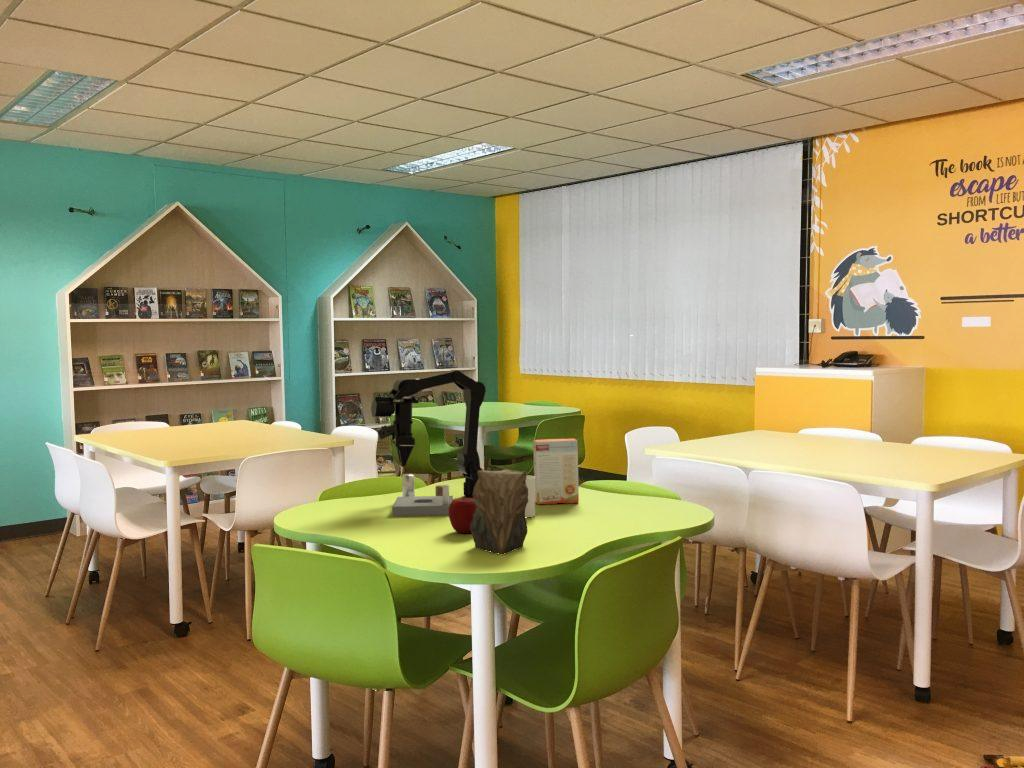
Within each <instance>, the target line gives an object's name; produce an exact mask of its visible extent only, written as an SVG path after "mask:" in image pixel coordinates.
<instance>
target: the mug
mask: <svg viewBox="0 0 1024 768" xmlns="http://www.w3.org/2000/svg"><path fill="white" fill-rule="evenodd" d="M525 482H526V486H527V488H528V503H527V505H526V509H525V517H531V518H534V517H535V515H536V513H535V512H536V502H535V476H534V475H527V474H526V481H525ZM533 516H534V517H533Z"/></svg>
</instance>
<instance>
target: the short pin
mask: <svg viewBox="0 0 1024 768" xmlns="http://www.w3.org/2000/svg"><path fill="white" fill-rule="evenodd" d="M443 485H444V484H440V485H439V484H438V485H436V486H435V488H434V489H435V491H434V492H435V496H443Z"/></svg>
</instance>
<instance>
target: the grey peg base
mask: <svg viewBox="0 0 1024 768" xmlns="http://www.w3.org/2000/svg"><path fill="white" fill-rule="evenodd" d="M442 485H443V496H436V495H430V496H429V495H427V496H425V495H424V496H421V495H420V496H416V495H415V497H403V496H397V497H396V499H395V501H394V503H393V504H392V509H391V510H392V511H391V512H392V514H391V515H392V517H425V516H424V515H427V516H429V517H431V516H430V515H436V516H449V505H450V503H451V502H452V501H453V500H454V498H453V497H454V495H450V485H449V484H442Z"/></svg>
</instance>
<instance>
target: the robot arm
mask: <svg viewBox="0 0 1024 768" xmlns="http://www.w3.org/2000/svg"><path fill="white" fill-rule="evenodd" d="M452 383H453V384H455V385H456V387H457V388H459V389H460V390H462V394H463V395H462V396H463V400H464V404H465V419H464V421H465V423H464V432H463V433H464V435H463V436H464V437H463V446H462V447H463V448H462V449H461V451H460V452H456V462H455V464H456V466H457V469H458V470H459V472H460V473H461V474H462V476H463V478H465V479H464V482H463V496H464V498H473V491H474V487H475V485H476V483H477V481H478V475H477V471H479V470H480V471H481V470H484V469H483V468H481V461H480V455H479V453H478V438H479V435H478V434H479V422H480V411H481V406H482V404H483V402H484V401H485V395H486V392H487V391H486V390H487V389H486V385H484V383H483V382H481V381H476V380H474V379H473V378H471V377H469V376H468V375H466V374H464V373H463V372H462V371H461V370H457V369H451V370H449V371H446V372H440V373H437V374H436V373H435V374H433V375H428V376H423V377H417V378H415V377H414V378H412V377H410V378H407V377H406V378H398V379H396V380H395V382H394V383H393V386H392V387H393V388H392V389H391V390H390V392H389V393H388V394H387V396H378V395H373V400H372V403H371V405H370V411H371V416H372V418H391V417H392V416H393V415H394V419H393V421H392V423H391V424H389V425H387V424H385V425H383V426H382V425H381V427H379V428H377V429H376V431H377V435H378V438H379V440H384V439H385V438H388V437H391V442H392V444H394V446H395V448H396V451H397V455H398V461H399V463H400V464H401V466H402V467H405V466H406V465H407V463H408V461H409V458H410V456H411V454H412V451H413V450H414V447H415V445H416V439H415V437H413V432H412V431H413V428H412V427H413V422H414V421H413V404H419V403H420V402H419V400H418V399H417V398H415V394H418V393H420V392H421V391H423V390H426V389H431V388H435V387H439V386H442V385H443V386H444V385H449V384H452Z"/></svg>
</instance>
